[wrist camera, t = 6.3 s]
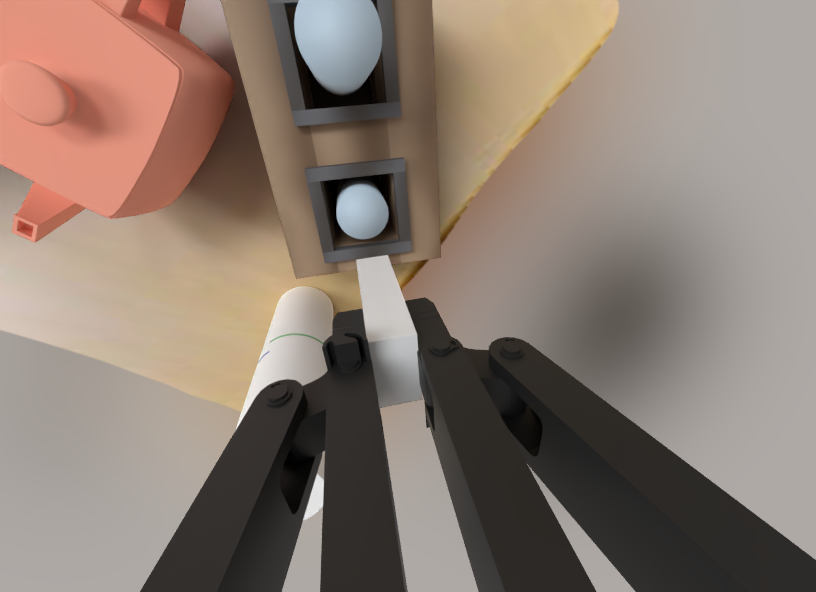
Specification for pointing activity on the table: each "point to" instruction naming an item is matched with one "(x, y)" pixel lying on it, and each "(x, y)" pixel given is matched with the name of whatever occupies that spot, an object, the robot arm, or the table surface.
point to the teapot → (103, 107)
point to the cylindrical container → (296, 355)
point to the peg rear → (361, 207)
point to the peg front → (339, 41)
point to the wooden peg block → (344, 134)
